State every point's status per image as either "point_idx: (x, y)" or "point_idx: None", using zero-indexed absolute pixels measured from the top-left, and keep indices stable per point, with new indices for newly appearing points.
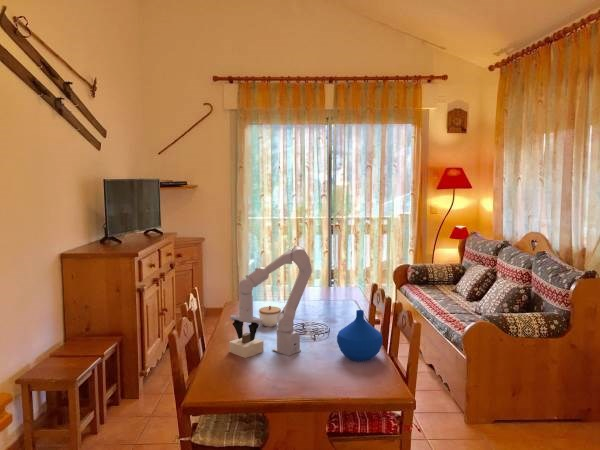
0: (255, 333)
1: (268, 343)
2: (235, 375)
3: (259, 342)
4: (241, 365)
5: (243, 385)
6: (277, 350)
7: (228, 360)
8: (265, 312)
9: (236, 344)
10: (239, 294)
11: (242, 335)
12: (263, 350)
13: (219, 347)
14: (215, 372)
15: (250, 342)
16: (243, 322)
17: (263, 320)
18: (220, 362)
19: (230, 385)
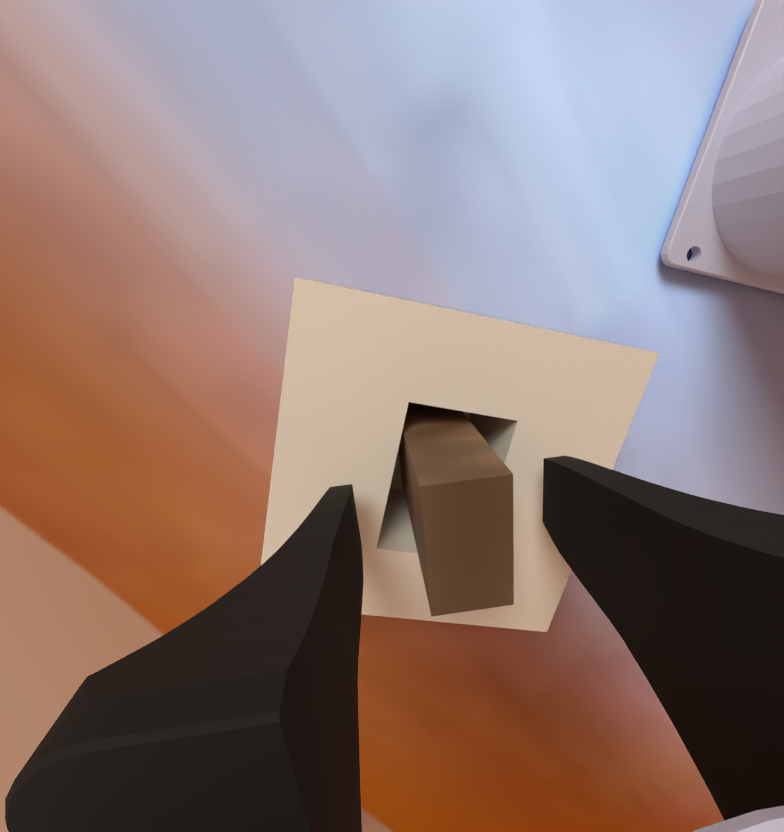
0: (649, 491)
1: (501, 40)
2: (595, 756)
3: (627, 425)
4: (551, 652)
5: (695, 798)
6: (736, 263)
7: (407, 643)
8: None
9: (396, 613)
10: None
11: (439, 610)
12: (580, 335)
13: (95, 486)
14: (460, 787)
15: (520, 492)
16: (305, 638)
17: None
18: (380, 692)
19: (631, 827)
